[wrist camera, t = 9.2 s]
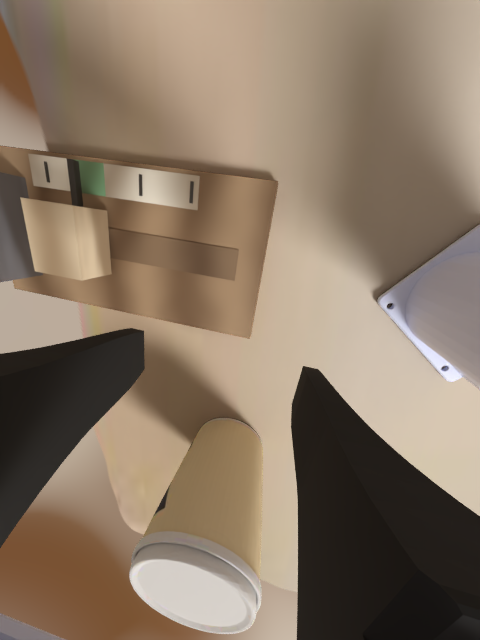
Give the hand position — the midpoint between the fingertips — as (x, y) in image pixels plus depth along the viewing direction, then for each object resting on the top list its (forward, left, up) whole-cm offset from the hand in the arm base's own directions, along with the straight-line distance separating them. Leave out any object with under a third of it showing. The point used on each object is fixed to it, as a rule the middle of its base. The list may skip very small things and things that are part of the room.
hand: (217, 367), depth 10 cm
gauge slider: (+14, +5, -9) cm, 17 cm away
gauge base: (+11, +4, -10) cm, 16 cm away
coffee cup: (-10, +14, -11) cm, 20 cm away
